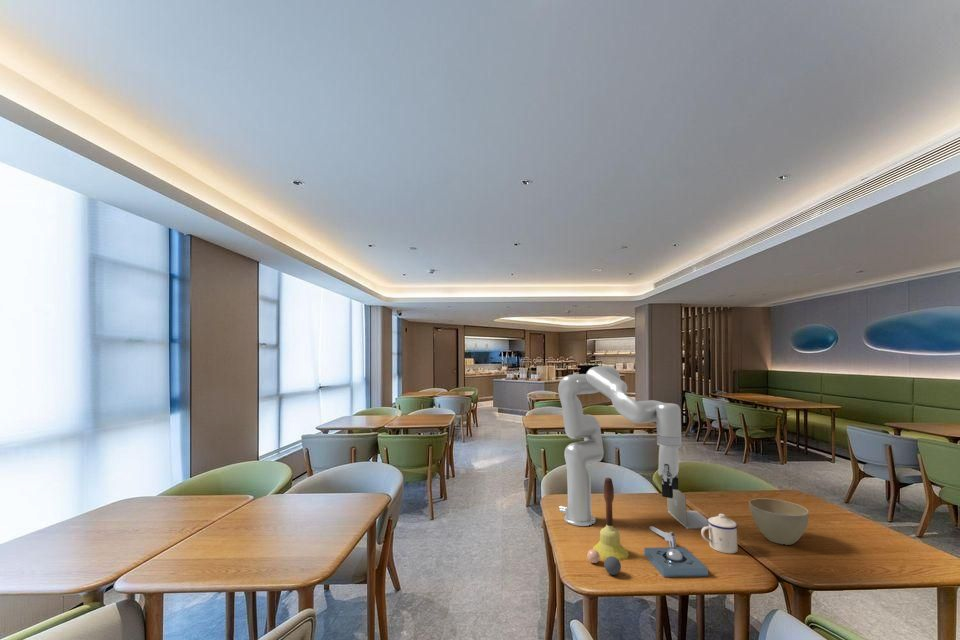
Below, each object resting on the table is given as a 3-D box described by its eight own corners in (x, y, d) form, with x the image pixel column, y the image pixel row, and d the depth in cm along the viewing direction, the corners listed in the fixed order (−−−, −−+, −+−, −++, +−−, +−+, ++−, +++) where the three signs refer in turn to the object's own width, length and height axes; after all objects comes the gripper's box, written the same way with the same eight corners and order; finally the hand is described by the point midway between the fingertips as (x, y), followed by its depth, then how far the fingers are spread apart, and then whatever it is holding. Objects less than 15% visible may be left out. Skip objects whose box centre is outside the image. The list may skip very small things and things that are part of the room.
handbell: (628, 563, 137) (626, 485, 139) (590, 557, 142) (588, 481, 144) (629, 547, 149) (627, 475, 151) (593, 542, 153) (592, 472, 155)
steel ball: (664, 566, 136) (664, 550, 136) (667, 559, 140) (667, 544, 140) (681, 571, 133) (681, 555, 133) (684, 564, 137) (684, 548, 137)
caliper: (676, 553, 145) (676, 534, 146) (673, 553, 145) (673, 534, 146) (651, 528, 165) (651, 512, 166) (649, 528, 165) (648, 512, 166)
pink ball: (585, 563, 137) (585, 550, 138) (589, 558, 141) (589, 546, 141) (597, 566, 135) (597, 553, 136) (601, 561, 138) (601, 549, 139)
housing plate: (663, 577, 129) (663, 568, 129) (644, 555, 143) (644, 547, 143) (708, 576, 129) (707, 567, 130) (684, 554, 143) (684, 547, 144)
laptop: (718, 529, 164) (716, 495, 165) (686, 529, 165) (684, 495, 166) (696, 512, 182) (694, 481, 183) (667, 512, 183) (666, 481, 184)
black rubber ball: (602, 574, 130) (601, 558, 131) (607, 568, 134) (606, 551, 135) (618, 579, 127) (618, 562, 128) (623, 572, 132) (622, 556, 132)
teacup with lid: (728, 542, 153) (727, 509, 154) (744, 554, 144) (742, 519, 145) (695, 542, 153) (694, 509, 154) (709, 554, 144) (707, 519, 145)
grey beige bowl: (802, 534, 159) (800, 502, 160) (817, 555, 143) (815, 518, 144) (747, 526, 167) (745, 495, 168) (755, 545, 150) (753, 510, 151)
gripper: (662, 435, 149) (663, 484, 148) (651, 443, 135) (652, 498, 134) (685, 437, 145) (686, 488, 144) (676, 447, 131) (678, 503, 130)
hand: (670, 493), depth 139 cm, fingers open, 9 cm apart
